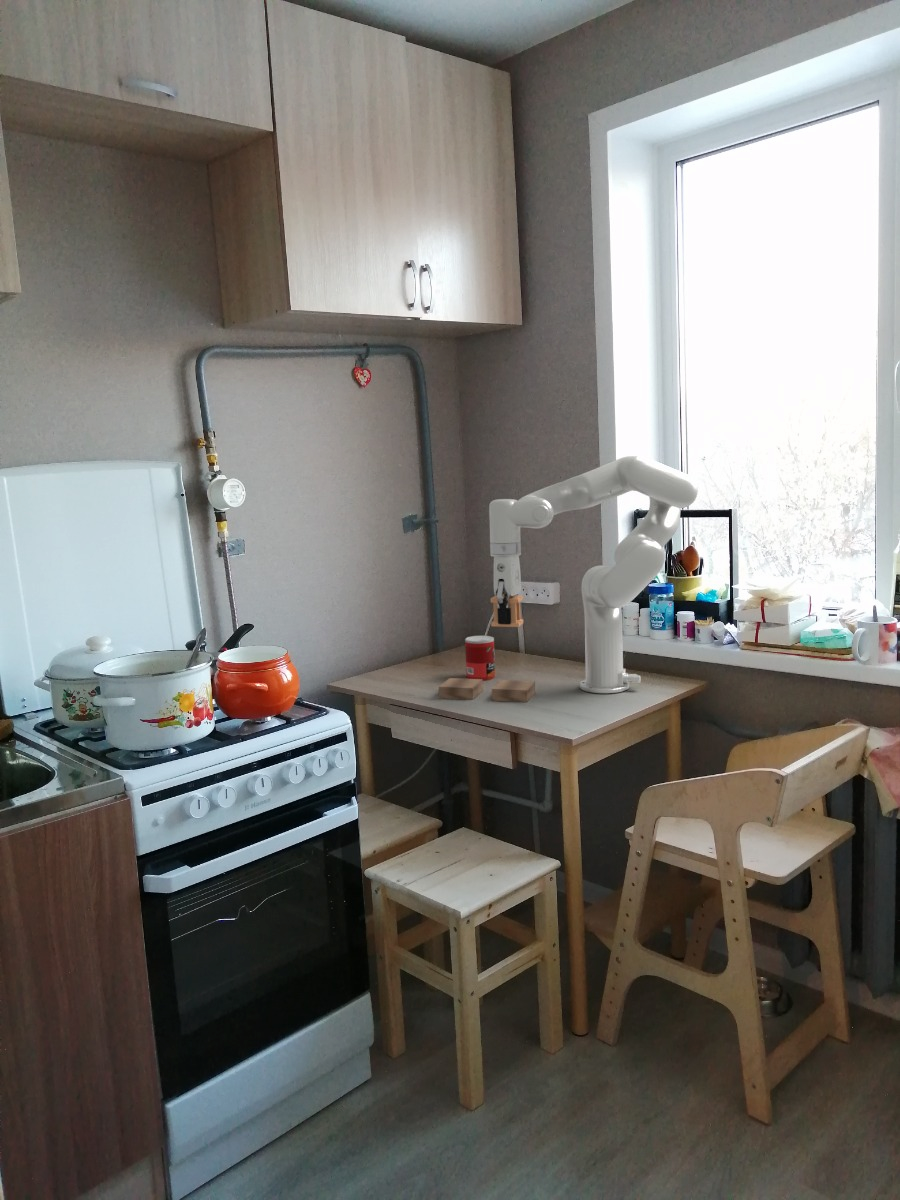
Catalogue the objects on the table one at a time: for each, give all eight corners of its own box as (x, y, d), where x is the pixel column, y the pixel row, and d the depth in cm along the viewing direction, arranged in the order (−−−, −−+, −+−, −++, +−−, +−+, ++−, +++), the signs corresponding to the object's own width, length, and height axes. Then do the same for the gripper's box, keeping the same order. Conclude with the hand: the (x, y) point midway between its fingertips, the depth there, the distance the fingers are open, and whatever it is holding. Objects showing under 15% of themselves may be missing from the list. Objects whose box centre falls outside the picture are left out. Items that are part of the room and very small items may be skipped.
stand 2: (535, 692, 243) (535, 681, 242) (527, 702, 235) (526, 690, 234) (501, 691, 246) (501, 680, 245) (492, 700, 237) (491, 688, 237)
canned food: (493, 681, 257) (491, 641, 255) (464, 680, 258) (462, 641, 257) (497, 674, 264) (496, 635, 262) (469, 673, 266) (467, 635, 264)
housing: (523, 623, 239) (522, 595, 238) (518, 627, 234) (518, 599, 233) (496, 622, 241) (495, 595, 240) (491, 626, 236) (490, 598, 235)
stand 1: (483, 690, 247) (482, 679, 247) (473, 699, 239) (472, 688, 238) (450, 689, 250) (449, 678, 250) (439, 698, 242) (438, 686, 241)
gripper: (512, 553, 225) (513, 628, 228) (528, 545, 241) (529, 616, 244) (481, 553, 227) (483, 628, 230) (499, 545, 244) (501, 615, 246)
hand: (507, 621), depth 237 cm, fingers closed on housing, 5 cm apart
